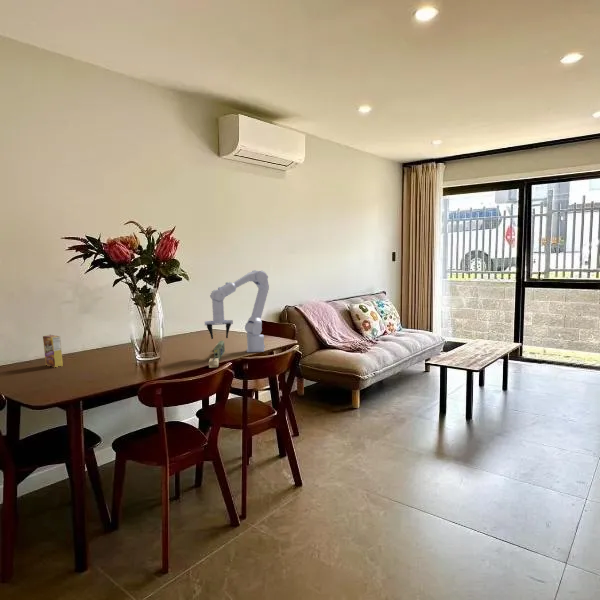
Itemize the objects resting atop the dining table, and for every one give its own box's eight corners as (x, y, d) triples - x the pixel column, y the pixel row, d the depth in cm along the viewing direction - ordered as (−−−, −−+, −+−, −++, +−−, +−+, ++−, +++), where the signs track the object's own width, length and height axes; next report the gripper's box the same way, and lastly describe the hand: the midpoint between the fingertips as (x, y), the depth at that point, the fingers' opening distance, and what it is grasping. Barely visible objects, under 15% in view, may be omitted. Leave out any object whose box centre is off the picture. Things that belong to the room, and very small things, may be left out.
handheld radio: (225, 352, 250) (218, 363, 225) (219, 352, 250) (211, 363, 225) (224, 340, 249) (217, 350, 224) (218, 340, 249) (210, 350, 224)
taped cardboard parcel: (224, 348, 258) (223, 343, 258) (217, 367, 216) (217, 360, 216) (216, 348, 258) (216, 343, 257) (209, 367, 216) (208, 361, 216)
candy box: (44, 366, 228) (42, 335, 226) (53, 364, 231) (50, 334, 230) (54, 368, 223) (52, 337, 221) (63, 366, 226) (60, 335, 225)
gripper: (203, 314, 234) (204, 340, 235) (232, 313, 235) (233, 338, 237) (204, 312, 241) (206, 337, 242) (232, 311, 242) (233, 336, 244)
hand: (219, 338), depth 240 cm, fingers open, 7 cm apart
